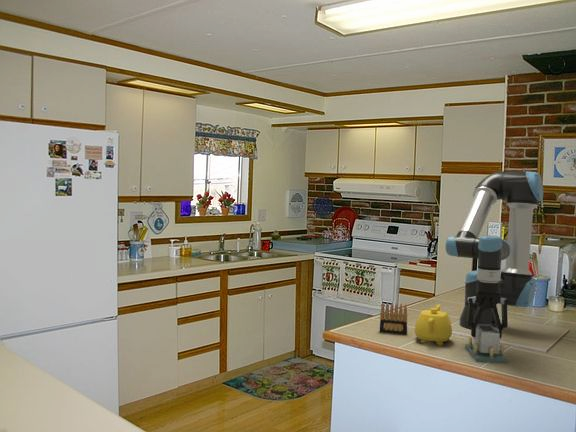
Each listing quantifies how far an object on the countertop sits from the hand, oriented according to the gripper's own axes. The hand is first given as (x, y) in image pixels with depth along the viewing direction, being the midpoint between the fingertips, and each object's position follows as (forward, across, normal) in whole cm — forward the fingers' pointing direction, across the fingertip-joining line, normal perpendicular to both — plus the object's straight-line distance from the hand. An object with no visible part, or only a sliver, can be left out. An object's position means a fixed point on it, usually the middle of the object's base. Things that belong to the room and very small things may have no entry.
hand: (485, 346), depth 187 cm
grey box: (+1, 0, 0) cm, 1 cm away
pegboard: (+3, 0, 0) cm, 3 cm away
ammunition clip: (+3, -29, +23) cm, 37 cm away
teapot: (+3, -15, +15) cm, 21 cm away
